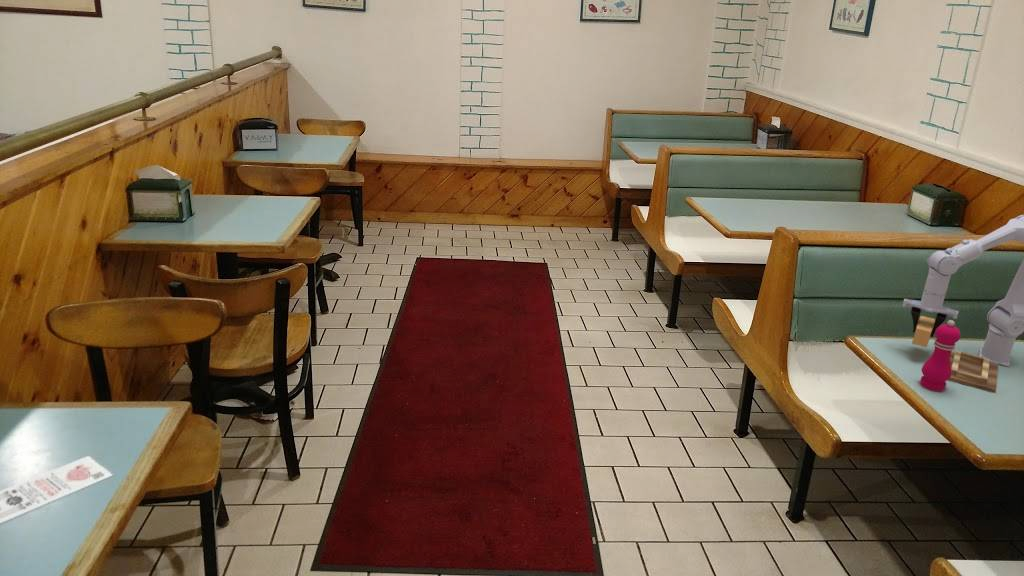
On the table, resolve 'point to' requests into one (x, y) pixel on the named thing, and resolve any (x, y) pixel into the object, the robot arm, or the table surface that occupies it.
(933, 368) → the pepper mill
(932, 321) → the tan block
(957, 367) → the jig
